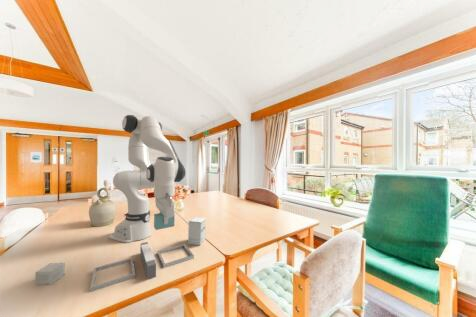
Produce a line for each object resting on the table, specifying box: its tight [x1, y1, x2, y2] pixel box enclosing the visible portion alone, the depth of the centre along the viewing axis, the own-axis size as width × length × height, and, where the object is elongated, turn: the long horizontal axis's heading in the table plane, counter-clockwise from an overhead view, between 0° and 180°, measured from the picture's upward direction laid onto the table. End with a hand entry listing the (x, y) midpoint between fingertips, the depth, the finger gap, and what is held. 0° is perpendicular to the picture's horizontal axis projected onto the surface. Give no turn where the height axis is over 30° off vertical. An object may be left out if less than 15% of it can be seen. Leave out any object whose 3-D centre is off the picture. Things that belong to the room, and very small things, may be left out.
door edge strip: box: [139, 241, 157, 280], centre depth 78 cm, size 22×3×5 cm, turn 35°
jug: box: [88, 187, 117, 227], centre depth 124 cm, size 15×16×25 cm
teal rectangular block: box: [153, 212, 176, 231], centre depth 82 cm, size 8×4×6 cm, turn 126°
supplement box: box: [187, 216, 207, 246], centre depth 99 cm, size 7×7×13 cm
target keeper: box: [89, 257, 136, 292], centre depth 71 cm, size 14×14×1 cm
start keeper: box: [156, 243, 195, 268], centre depth 85 cm, size 14×14×1 cm
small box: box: [34, 262, 66, 286], centre depth 67 cm, size 6×6×5 cm
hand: (164, 221), depth 82 cm, fingers closed on teal rectangular block, 4 cm apart
